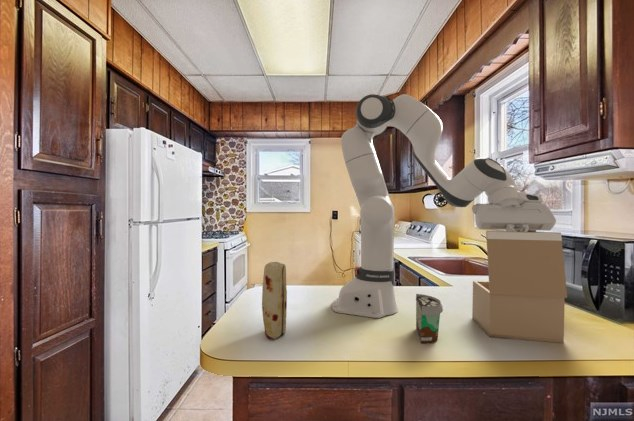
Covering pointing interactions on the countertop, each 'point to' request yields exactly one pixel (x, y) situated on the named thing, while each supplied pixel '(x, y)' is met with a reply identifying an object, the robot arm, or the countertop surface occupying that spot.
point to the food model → (274, 299)
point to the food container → (427, 318)
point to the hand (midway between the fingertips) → (521, 239)
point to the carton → (518, 315)
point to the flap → (526, 263)
